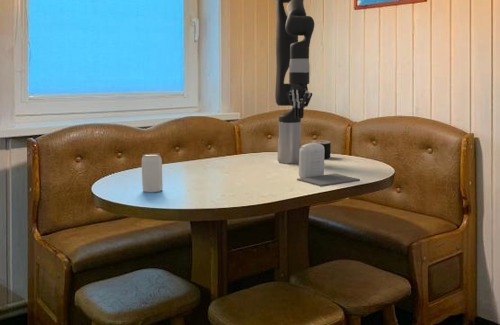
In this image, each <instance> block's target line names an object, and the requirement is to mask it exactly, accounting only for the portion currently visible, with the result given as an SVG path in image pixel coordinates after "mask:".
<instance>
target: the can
mask: <svg viewBox="0 0 500 325" xmlns="http://www.w3.org/2000/svg"><path fill="white" fill-rule="evenodd" d="M162 162H163V161H162V157H161V154H160V153H156V152H155V153H153V152H151V153H143V154H142V157H141V178H142V179H141V182H142V191H143V192H144V193H147V192H156V193H159V191H160V192H162V191H161V190H163V188H164V187H163V185H164V184H163V163H162Z"/></svg>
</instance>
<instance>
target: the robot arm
mask: <svg viewBox="0 0 500 325" xmlns="http://www.w3.org/2000/svg"><path fill="white" fill-rule="evenodd" d="M274 4H275V17H276V18H275V19H276V20H275V23H276V24H275V26H276V27H275V56H276V60H275V61H276V68H275V69H276V74H275V90H274V91H275V95H274V97H275V103H276V105H277V106H279V107H287V106H288V107H289V106H291V109H290V110H288V111H286V112H284V113H282V114H280V115H279V116H278V139H277V162H279V163H281V164H289V165H290V164H299V149H300V147H301V146H302V144H301V143H302V142H301V139H302V138H301V136H302V135H301V133H302V132H301V130H302V129H301V128H302V127H301V126H302V125H301V123H302V122H301V121H302V119H303V118H304V113H305V112H304V109H305V108H306V107H308V106H309V103H310V101H311V99H312V97H313V92H309V88H308V85H309V84H310V74H311V73H310V72H311V71H310V67H311V66H310V47H311V46H310V44H311V41H312V40H311V39H312V35H313V33H314V29H315V21H314V18H313V17H312V16H310V15H307V13H306V9H305V5H304V0H274ZM284 4H287V6H286V9H285V6H284ZM299 36H300V37H301V36H303V39H301V40H299ZM288 70H289V71H288ZM287 72H288V76H289V77H288V78H289V80H288V83H285V79H286V74H287Z"/></svg>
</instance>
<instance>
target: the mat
mask: <svg viewBox="0 0 500 325" xmlns="http://www.w3.org/2000/svg"><path fill="white" fill-rule="evenodd" d="M360 180H361V179H360V178H356V177H352V176H347V175H343V174H341V173H340V174H339V173H330V174H329V173H328V174H324V175H321V176H314V177H306V178H302V177H299V178H296V181H299V182H303V183H307V184H310V185H314V186H318V187H325V186H333V185H338V184H345V183H352V182H359V181H360Z"/></svg>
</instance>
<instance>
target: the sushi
mask: <svg viewBox="0 0 500 325" xmlns="http://www.w3.org/2000/svg"><path fill="white" fill-rule="evenodd" d="M311 143H318V144H321V145H323V146H324V149H325V153H324V160H329V159H331V150H332V149H331V147H332V146H331V143H332V141H330V140H323V139H317V140H315V139H314V140H312V141H311Z"/></svg>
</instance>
